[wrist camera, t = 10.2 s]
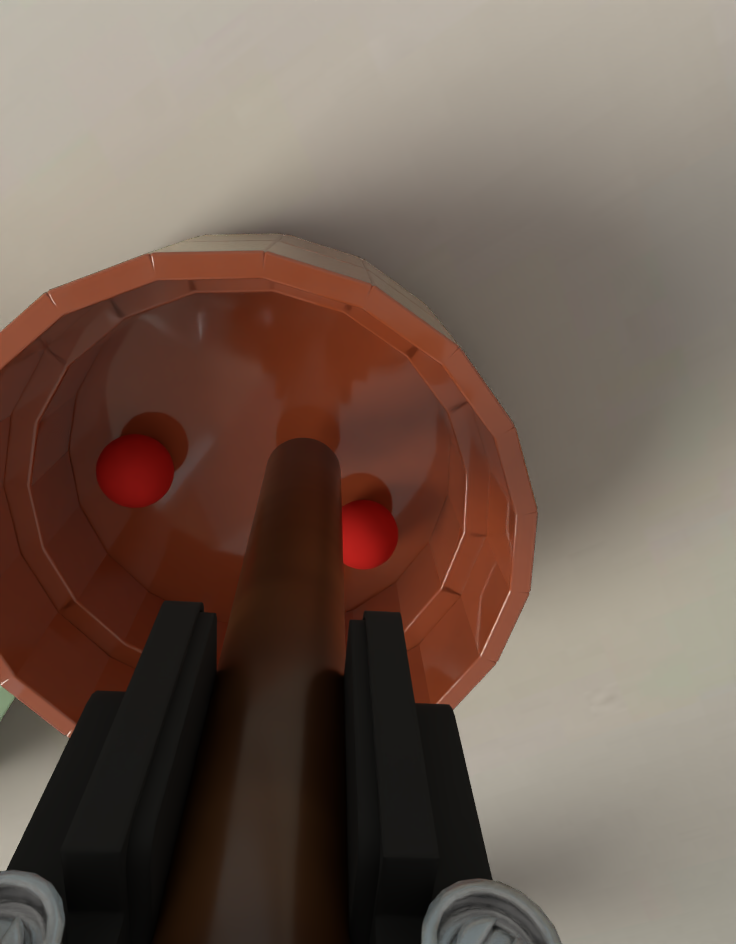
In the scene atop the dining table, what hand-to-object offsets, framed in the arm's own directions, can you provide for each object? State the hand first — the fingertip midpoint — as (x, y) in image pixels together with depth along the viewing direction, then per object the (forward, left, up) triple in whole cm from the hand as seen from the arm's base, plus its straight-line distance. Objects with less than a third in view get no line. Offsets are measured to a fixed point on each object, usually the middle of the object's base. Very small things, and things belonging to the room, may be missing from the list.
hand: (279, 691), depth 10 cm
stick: (0, 0, -9) cm, 9 cm away
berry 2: (+3, -1, -9) cm, 9 cm away
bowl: (-1, -1, -11) cm, 11 cm away
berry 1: (-4, -3, -9) cm, 10 cm away
